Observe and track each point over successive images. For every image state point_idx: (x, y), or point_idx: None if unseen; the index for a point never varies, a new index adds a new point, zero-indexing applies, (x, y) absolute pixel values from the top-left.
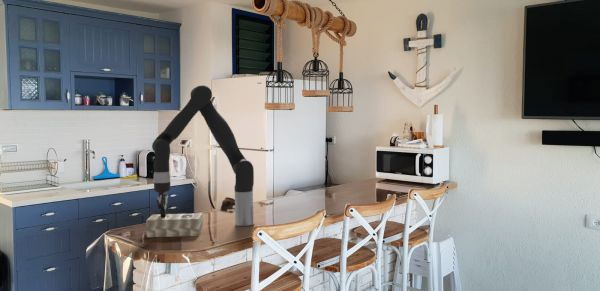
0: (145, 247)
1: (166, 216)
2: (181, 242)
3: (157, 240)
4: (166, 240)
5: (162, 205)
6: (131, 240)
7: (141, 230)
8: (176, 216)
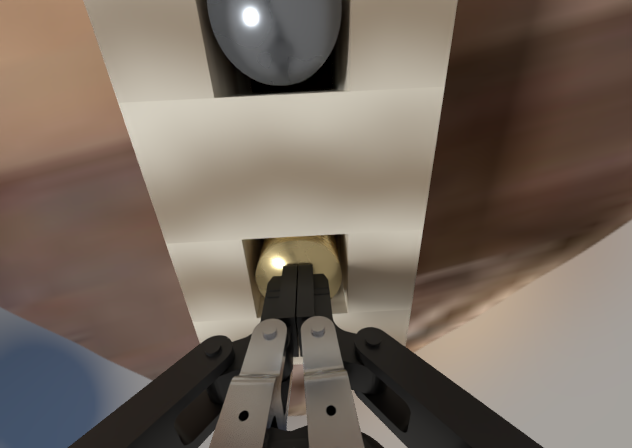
0: (580, 228)
1: (272, 260)
2: (570, 23)
3: (456, 207)
4: (473, 154)
5: (452, 389)
6: (420, 320)
7: None
8: (279, 160)
